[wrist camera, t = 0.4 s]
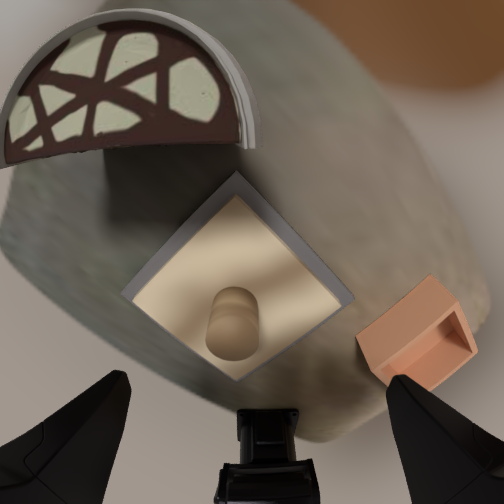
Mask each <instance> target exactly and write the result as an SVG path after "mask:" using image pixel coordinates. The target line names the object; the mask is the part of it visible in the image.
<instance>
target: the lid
mask: <svg viewBox="0 0 504 504" xmlns="http://www.w3.org/2000/svg"><path fill="white" fill-rule="evenodd" d="M132 302H133V303H135V304H136V305H137V306H138V307H139V308H141V309H142V310H143V311H144V312H145V313H146V314H148V315H149V316H150V317H151V318H153V319H154V320H155V321H156V322H157V323H159V324H160V325H161V326H162V327H164V328H165V329H166V330H167V331H169V332H170V333H171V334H173V335H174V336H175V337H176V338H178V339H179V340H180V341H182V342H183V343H184V344H186V345H187V346H188V347H190V348H191V349H192V350H194V351H195V352H196V353H198V354H199V355H200V356H202V357H203V358H205V359H206V360H207V361H209V362H210V363H212V364H213V365H214V366H216V367H217V368H219V369H220V370H222V371H223V372H225V373H226V374H227V375H229V376H230V377H232V378H233V379H235V380H237V379H239V378H241V377H242V376H244V375H245V374H247V373H248V372H250V371H252V370H253V369H255V368H256V367H258V366H259V365H261V364H262V363H264V362H265V361H267V360H268V359H270V358H271V357H273V356H274V355H276V354H277V353H279V352H280V351H282V350H283V349H284V348H286V347H287V346H289V345H290V344H292V343H293V342H294V341H296V340H297V339H299V338H300V337H301V336H303V335H304V334H306V333H307V332H308V331H310V330H311V329H312V328H314V327H315V326H316V325H318V324H319V323H320V322H322V321H323V320H324V319H326V318H327V317H328V316H330V315H331V314H332V313H334V312H335V311H336V310H338V309H339V308H340V307H341V304H340V301H339V299H338V298H337V297H336V296H335V295H334V294H333V293H332V292H331V291H330V290H329V289H328V288H327V286H326V285H325V284H324V283H323V282H322V281H321V280H320V279H319V278H318V277H317V276H316V275H315V274H314V273H313V272H312V271H311V270H310V269H309V267H308V266H307V265H306V264H305V263H304V262H303V261H302V260H301V259H300V258H299V257H298V256H297V255H296V254H295V253H294V252H293V251H292V250H291V249H290V248H289V247H288V246H287V245H286V244H285V242H284V241H283V240H282V239H281V238H280V237H279V236H278V235H277V234H276V233H275V232H274V231H273V230H272V229H271V228H270V227H269V226H268V225H267V224H266V223H265V222H264V221H263V220H262V219H261V218H260V217H259V216H258V215H257V214H256V213H255V212H254V211H253V210H252V209H251V208H250V207H249V206H248V205H247V204H246V203H245V202H244V201H243V200H242V199H241V198H240V197H239V196H238V195H237V194H235V195H233V196H232V197H231V198H230V199H229V200H228V201H227V202H226V203H225V204H224V205H223V206H222V207H221V208H220V209H219V210H218V211H217V212H216V213H215V214H214V215H213V216H212V217H211V218H210V219H209V220H208V221H207V222H206V223H205V224H204V225H203V226H202V227H201V228H200V229H199V230H198V231H197V232H196V233H195V234H194V235H193V236H192V237H191V238H190V239H189V240H188V241H187V242H186V243H185V244H184V245H183V246H182V247H181V248H180V249H179V250H178V251H177V252H176V253H175V254H174V255H173V256H172V257H171V258H170V259H169V260H168V261H167V262H166V263H165V264H164V265H163V266H162V268H161V269H160V270H159V271H158V272H157V273H156V274H155V275H154V276H153V277H152V278H151V279H150V280H149V281H148V282H147V283H146V284H145V286H144V287H143V288H142V289H141V290H140V291H139V292H138V293H137V294H136V296H135V297H134V299H133V300H132Z"/></svg>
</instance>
